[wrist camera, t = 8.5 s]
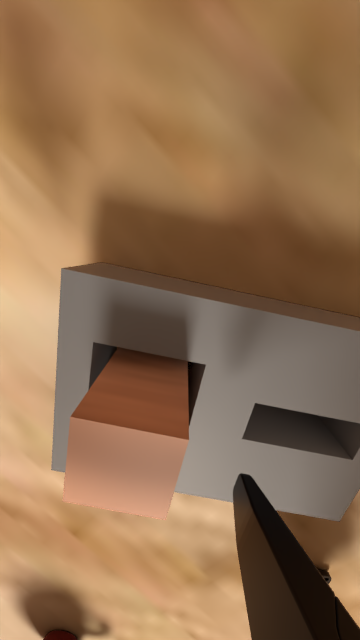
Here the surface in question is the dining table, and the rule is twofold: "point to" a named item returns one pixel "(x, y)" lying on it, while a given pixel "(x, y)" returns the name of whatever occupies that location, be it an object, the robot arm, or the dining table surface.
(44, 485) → the dining table surface
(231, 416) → the socket board
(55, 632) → the mug
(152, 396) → the peg
